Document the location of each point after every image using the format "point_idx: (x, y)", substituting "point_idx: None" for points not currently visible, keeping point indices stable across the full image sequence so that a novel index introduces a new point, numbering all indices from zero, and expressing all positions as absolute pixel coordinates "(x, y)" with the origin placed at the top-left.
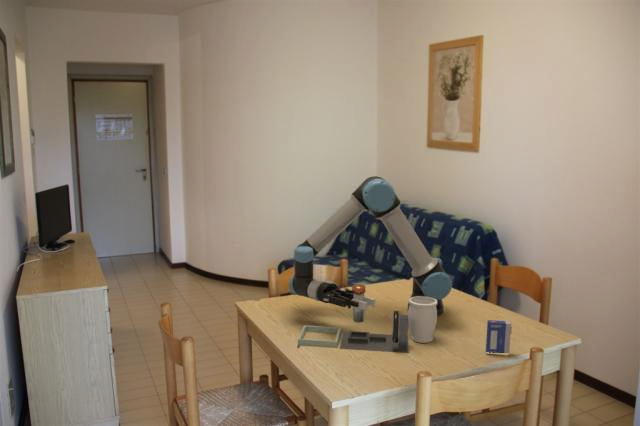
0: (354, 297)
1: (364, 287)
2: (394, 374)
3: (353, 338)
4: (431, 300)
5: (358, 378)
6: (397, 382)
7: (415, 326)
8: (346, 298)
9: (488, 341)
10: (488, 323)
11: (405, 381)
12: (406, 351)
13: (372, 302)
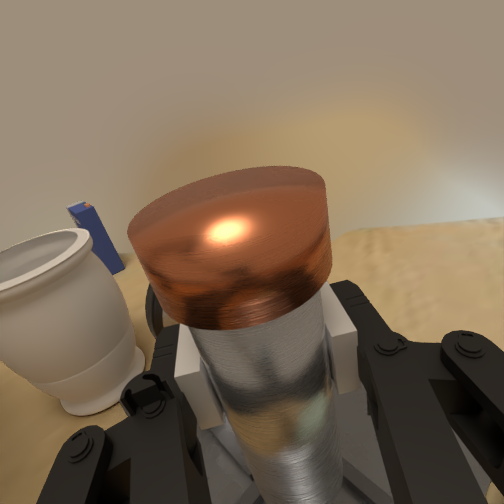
0: (322, 307)
1: (211, 179)
2: (358, 255)
3: (373, 483)
4: None
5: (469, 259)
6: (373, 235)
7: (128, 318)
8: (411, 402)
9: (112, 244)
10: (93, 208)
11: (353, 235)
12: None
13: None
